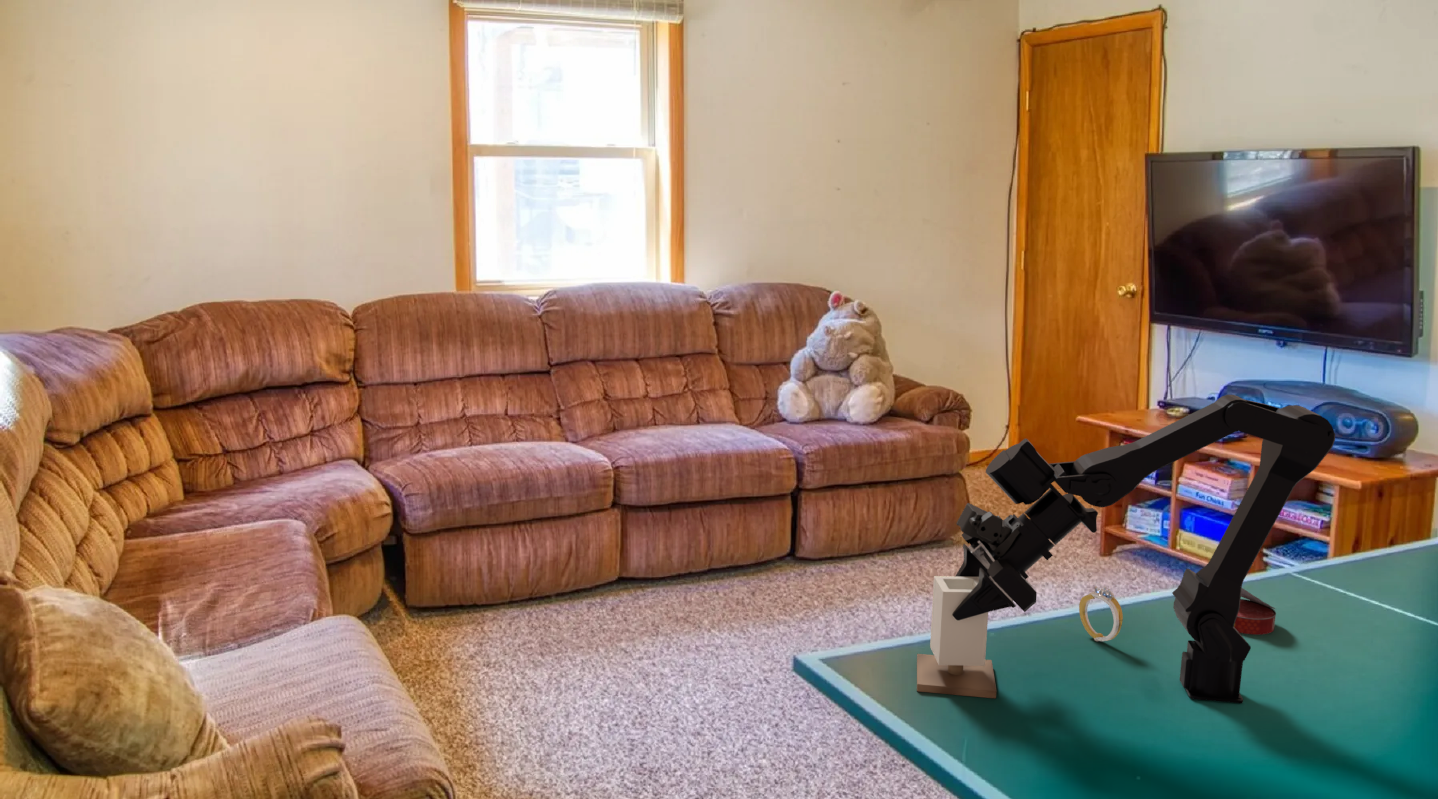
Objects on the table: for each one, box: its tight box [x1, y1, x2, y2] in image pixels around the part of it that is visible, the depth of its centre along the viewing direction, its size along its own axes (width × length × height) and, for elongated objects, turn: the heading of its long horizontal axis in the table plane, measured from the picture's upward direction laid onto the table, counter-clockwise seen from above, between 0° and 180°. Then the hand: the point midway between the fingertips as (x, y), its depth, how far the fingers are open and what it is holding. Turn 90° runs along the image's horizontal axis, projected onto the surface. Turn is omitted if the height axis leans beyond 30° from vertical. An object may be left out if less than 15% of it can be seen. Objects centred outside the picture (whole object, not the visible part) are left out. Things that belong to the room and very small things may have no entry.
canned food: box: [1234, 587, 1277, 636], centre depth 176 cm, size 10×9×9 cm
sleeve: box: [929, 575, 989, 666], centre depth 152 cm, size 6×6×10 cm
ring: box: [1078, 586, 1124, 642], centre depth 167 cm, size 7×3×8 cm, turn 25°
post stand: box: [916, 653, 997, 699], centre depth 154 cm, size 10×10×4 cm
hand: (949, 608), depth 152 cm, fingers closed on sleeve, 6 cm apart
